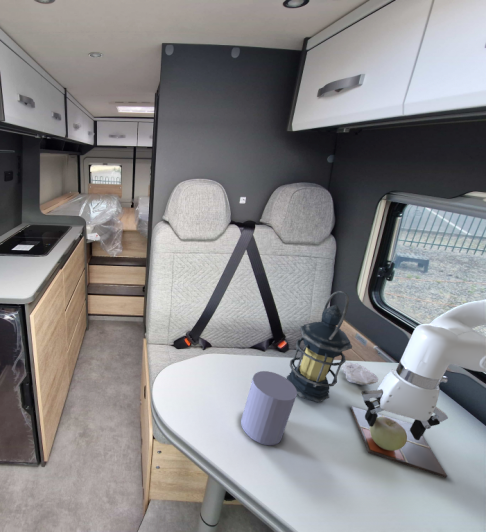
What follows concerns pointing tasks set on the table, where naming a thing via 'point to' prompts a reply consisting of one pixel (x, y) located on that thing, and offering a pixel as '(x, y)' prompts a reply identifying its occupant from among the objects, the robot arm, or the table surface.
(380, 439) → the fruit
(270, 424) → the container
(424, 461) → the board
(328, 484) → the table surface
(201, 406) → the table surface
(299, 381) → the lantern
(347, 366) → the fossil
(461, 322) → the robot arm
